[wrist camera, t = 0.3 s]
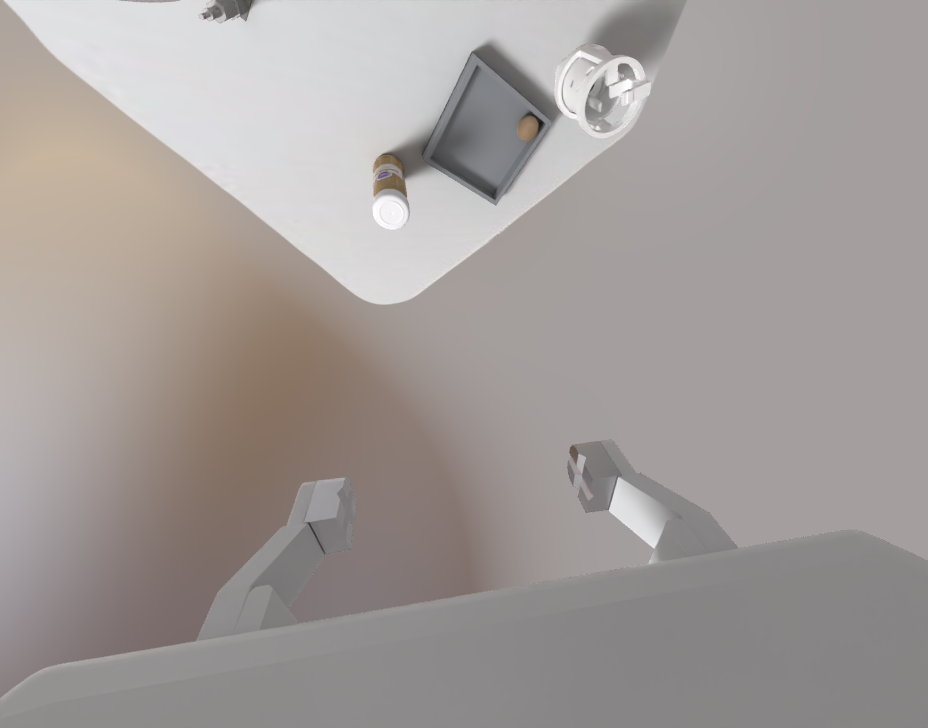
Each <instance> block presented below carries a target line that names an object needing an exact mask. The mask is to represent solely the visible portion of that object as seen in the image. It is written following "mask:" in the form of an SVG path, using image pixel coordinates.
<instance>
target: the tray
mask: <svg viewBox="0 0 928 728" xmlns="http://www.w3.org/2000/svg"><path fill="white" fill-rule="evenodd" d="M527 115H530V116H533V117H535V118H536V120H537V122H538V132H537V135H536V136H535V137H534V138H533V139H532V140H530V141H523V140H521V139H520V138H519V136H518V134H517V125H518V122H519V121H520V119H521V118H523V117H524V116H527ZM551 123H552V122H551V121H550V120H549V119H548V118H547V117H546V116H545V115H544V114H542V113H541V112H540V111H539V110H538V109H537V108H536V107H534V106H533V105H532V104H531V103H530V102H529V101H528V100H526V99H525V98H524V97H523V96H522V95H521V94H520V93H518V92H517V91H516V90H515V89H514V88H513V87H512V86H510V85H509V84H508V83H507V82H506V81H505V80H504V79H502V78H501V77H500V76H499V75H498V74H497V73H495V72H494V71H493V70H492V69H491V68H490V67H489V66H487V65H486V64H485V63H484V62H483V61H482V60H481V59H479V58H478V57H477V56H476V55H475V54H474V53H473V52H471V54H470V56H469V59H468V61H467V63H466V65H465V67H464V69H463V71H462V73H461V75H460V77H459V79H458V81H457V84H456V86H455V88H454V90H453V92H452V94H451V96H450V98H449V100H448V102H447V104H446V106H445V109H444V111H443V113H442V115H441V117H440V119H439V121H438V123H437V125H436V127H435V129H434V131H433V134H432V136H431V138H430V140H429V142H428V144H427V146H426V148H425V150H424V152H423V154H422V156H423V160H424V162H426V163H428V164H429V165H431V166H432V167H434V168H436V169H437V170H439V171H441V172H442V173H444V174H445V175H447V176H449V177H450V178H452V179H454V180H455V181H457V182H458V183H460V184H462V185H463V186H465V187H467V188H468V189H470V190H471V191H473V192H475V193H476V194H478V195H480V196H481V197H483V198H484V199H486V200H488V201H489V202H491V203H493V204H494V205H497V203H498V202H499V200H500V199H501V197H502V196H503V194H504V193H505V191H506V190H507V188H508V187H509V185H510V184H511V183H512V181H513V180H514V178H515V177H516V175H517V174H518V172H519V171H520V169H521V168H522V166H523V165H524V163H525V162H526V160H527V159H528V157H529V156H530V154H531V153H532V151H533V150H534V148H535V147H536V145H537V144H538V142H539V141H540V139H541V138H542V136H543V135H544V134H545V132H546V131H547V129H548V128H549V126H550V125H551Z"/></svg>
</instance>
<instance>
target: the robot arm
mask: <svg viewBox="0 0 928 728" xmlns="http://www.w3.org/2000/svg"><path fill="white" fill-rule="evenodd" d="M569 453H570V455H571V458H570V459H569V460H568V467H567V468H568V474H569V478H570V481H571V482H572V485H573V487H575V488H576V489H578V490H579V494H578V498H579V500H580V502H581V504H582V506H583V508H584V510H585V512H586V513H587V512H595V511H603V510H609V512H611V513H612V514H613V515H614V516H616V517H617V518H618V519H619V520H620V521H621V522H623V523H624V524H625V525H626V526H627V527H629V528H630V529H631V530H632V531H633V532H635V533H636V534H637V535H638V536H639V537H641V538H642V539H643V540H644V541H645V542H647V543H648V544H649V545H650V546H651V547H653V548H654V551H653V554H652V556H651V559H650V561H649V563H648V564H644V565H638V566H633V567H626V568H620V569H615V570H609V571H603V572H597V573H591V574H586V575H580V576H574V577H568V578H562V579H556V580H551V581H545V582H539V583H533V584H527V585H521V586H515V587H509V588H504V589H497V590H492V591H486V592H480V593H475V594H468V595H463V596H457V597H452V598H445V599H439V600H434V601H428V602H422V603H416V604H411V605H404V606H399V607H393V608H387V609H381V610H375V611H370V612H364V613H358V614H352V615H346V616H340V617H335V618H329V619H323V620H317V621H312V622H305V623H300V624H299V623H298V622H297V620H296V619H295V618H294V616H293V615H292V614H291V612H290V611H289V610H288V609H289V608H290V606H291V605H292V603H293V602H294V600H295V599H296V597H297V596H298V595H299V593H300V592H301V590H302V589H303V587H304V586H305V584H306V583H307V582H308V580H309V579H310V577H311V576H312V574H313V573H314V571H315V570H316V569H317V567H318V565H319V564H320V563H321V561H322V560H323V558H324V557H325V554H330V553H335V552H341V551H346V550H350V549H351V543H352V536H353V529H352V526H351V524H352V522H353V521H354V520H355V518H356V498H355V494H354V492H353V491H351V490H350V485H351V483H350V481H349V479H348V478H338V479H330V480H321V481H314V482H305V483H303V484H302V485H301V486H300V488H299V491H298V494H297V497H296V500H295V503H294V506H293V509H292V511H291V514H290V517H289V520H288V523H287V526H284V527H281V528H280V529H279V530H278V532H276V533H275V534H274V535H273V536H272V537H271V539H269V541H268V542H267V543H266V544H265V545H264V546H263V547H262V548H261V549H260V550H259V551H258V552H257V553H256V554H255V555H254V556H253V557H252V558H251V559H250V560H249V561H248V562H247V563H246V564H245V565H244V566H243V567H242V568H241V569H240V570H239V571H238V572H237V573H236V574H235V575H234V576H233V577H232V578H231V579H230V580H229V581H228V582H227V583H226V584H225V585H224V586H223V587H222V588H221V589H220V590H219V592H218V593H217V595H216V598H215V600H214V602H213V604H212V607H211V609H210V611H209V613H208V615H207V618H206V620H205V622H204V625H203V627H202V629H201V631H200V633H199V635H198V638H197V640H196V641H195V642H188V643H183V644H177V645H171V646H165V647H159V648H153V649H147V650H141V651H135V652H130V653H124V654H118V655H112V656H106V657H101V658H94V659H88V660H82V661H76V662H70V663H64V664H59V665H54V666H50V667H47V668H44V669H42V670H39V671H37V672H36V673H34V674H33V675H31V676H29V677H28V678H26V679H25V680H24V681H22V682H21V683H19V684H18V685H17V686H15V687H14V688H12V689H11V690H10V691H9V692H7V693H6V694H5V695H3V696H2V697H1V698H0V728H928V561H927V560H925V559H923V558H921V557H919V556H917V555H915V554H913V553H910V552H908V551H906V550H904V549H902V548H900V547H897V546H895V545H893V544H891V543H889V542H887V541H884V540H882V539H880V538H877V537H875V536H872V535H870V534H867V533H865V532H862V531H858V530H842V531H836V532H830V533H824V534H819V535H813V536H807V537H802V538H795V539H789V540H783V541H778V542H772V543H766V544H761V545H755V546H749V547H743V548H738V547H737V546H736V544H735V543H734V542H733V541H732V540H731V538H730V537H729V536H728V535H727V533H726V532H725V531H724V530H723V529H722V527H721V526H720V525H719V524H718V523H717V521H716V520H715V519H714V518H713V516H712V515H711V514H710V513H709V512H707V511H706V510H704V509H702V508H700V507H699V506H697V505H695V504H694V503H692V502H690V501H688V500H687V499H685V498H683V497H681V496H680V495H678V494H676V493H675V492H673V491H671V490H669V489H668V488H666V487H664V486H662V485H661V484H659V483H657V482H655V481H654V480H652V479H650V478H649V477H647V476H645V475H643V474H642V473H636V472H635V470H634V469H633V467H632V466H631V464H630V463H629V462H628V460H627V459H626V457H625V456H624V455H623V453H622V452H621V451H620V449H619V448H618V446H617V445H616V443H615V442H614V441H613V440H611V439H610V440H603V441H598V442H597V441H596V442H589V443H582V444H576V445H572V446H571V447H570V452H569Z"/></svg>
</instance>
